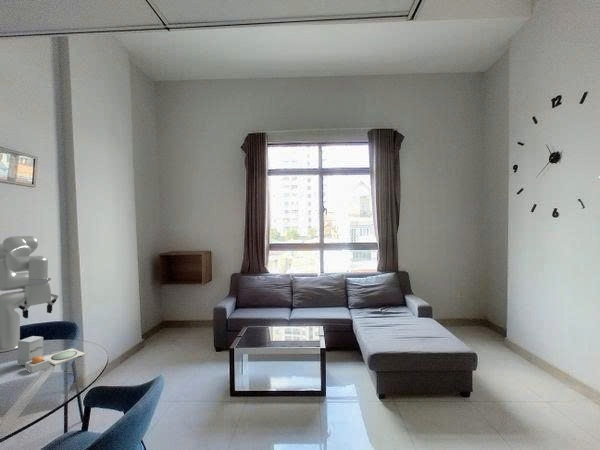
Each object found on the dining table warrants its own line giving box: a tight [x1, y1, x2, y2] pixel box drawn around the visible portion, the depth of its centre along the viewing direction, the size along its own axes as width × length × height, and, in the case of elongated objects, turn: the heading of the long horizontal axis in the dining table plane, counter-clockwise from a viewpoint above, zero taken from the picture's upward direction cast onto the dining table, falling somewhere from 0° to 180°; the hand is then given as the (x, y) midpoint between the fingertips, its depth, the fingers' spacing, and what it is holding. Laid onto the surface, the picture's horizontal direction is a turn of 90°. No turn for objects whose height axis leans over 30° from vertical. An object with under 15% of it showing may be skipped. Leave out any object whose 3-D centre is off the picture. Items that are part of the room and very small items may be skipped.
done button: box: [32, 355, 44, 364], centre depth 152 cm, size 4×4×3 cm
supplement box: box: [17, 335, 44, 366], centre depth 157 cm, size 7×7×13 cm
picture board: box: [43, 347, 86, 366], centre depth 165 cm, size 14×14×1 cm
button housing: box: [24, 358, 50, 373], centre depth 152 cm, size 7×7×4 cm
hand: (37, 315), depth 155 cm, fingers open, 9 cm apart
